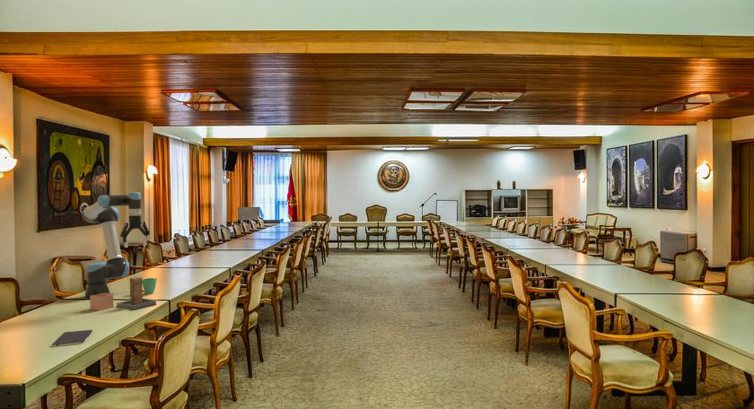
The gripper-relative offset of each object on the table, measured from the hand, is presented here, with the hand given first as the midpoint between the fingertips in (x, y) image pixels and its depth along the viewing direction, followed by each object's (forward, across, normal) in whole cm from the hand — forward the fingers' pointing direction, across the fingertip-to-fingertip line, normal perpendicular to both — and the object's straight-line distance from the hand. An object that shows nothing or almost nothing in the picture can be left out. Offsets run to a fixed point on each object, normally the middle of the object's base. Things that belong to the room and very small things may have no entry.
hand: (135, 246), depth 330 cm
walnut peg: (+34, -15, -23) cm, 43 cm away
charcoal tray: (+35, -15, -23) cm, 44 cm away
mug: (+36, +12, +8) cm, 39 cm away
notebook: (+35, -72, -57) cm, 98 cm away
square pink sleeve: (+35, -30, -11) cm, 48 cm away
